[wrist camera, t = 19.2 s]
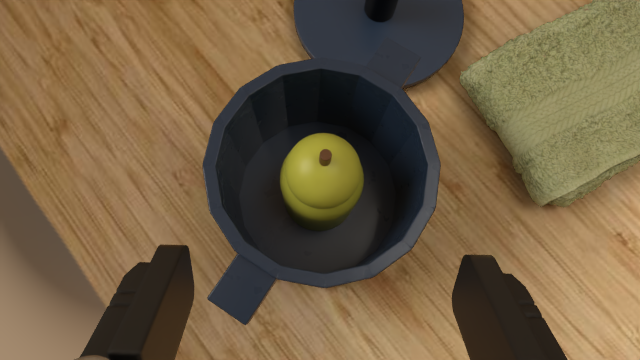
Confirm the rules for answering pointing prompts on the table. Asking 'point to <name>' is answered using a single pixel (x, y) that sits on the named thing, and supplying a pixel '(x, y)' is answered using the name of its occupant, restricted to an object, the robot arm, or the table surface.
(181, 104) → the table surface
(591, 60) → the washcloth
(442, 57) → the lid
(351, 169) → the pear
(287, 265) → the pot
